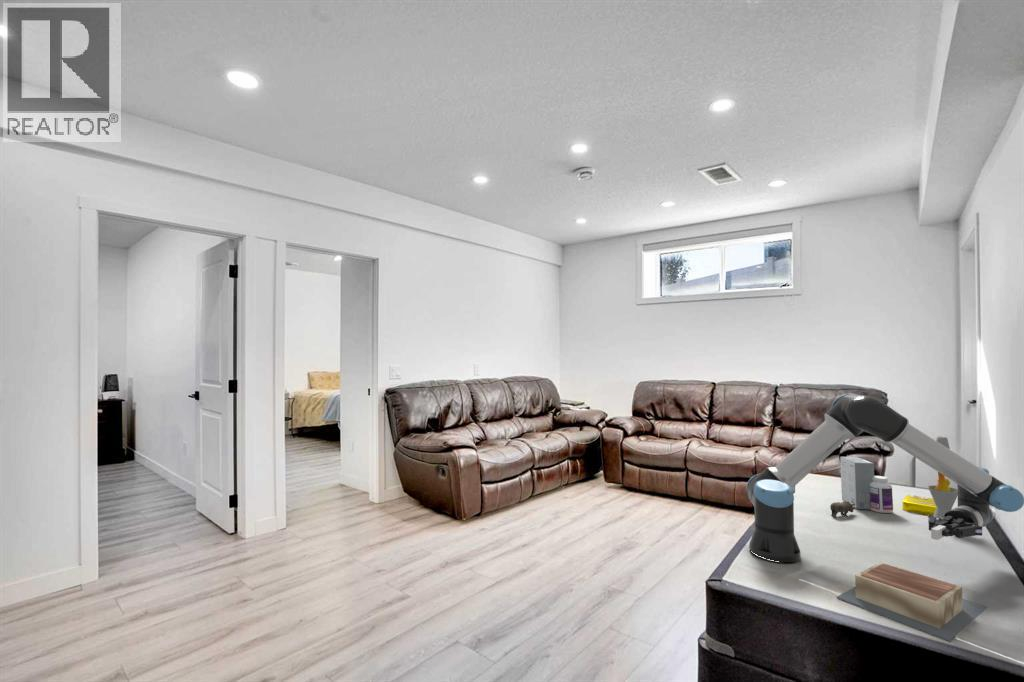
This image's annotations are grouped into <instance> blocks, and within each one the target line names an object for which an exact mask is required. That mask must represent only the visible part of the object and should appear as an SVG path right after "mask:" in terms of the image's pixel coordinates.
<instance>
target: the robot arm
mask: <svg viewBox="0 0 1024 682" xmlns="http://www.w3.org/2000/svg"><path fill="white" fill-rule="evenodd" d="M864 432H865V433H868V434H870V435H872V436H875V437H876V438H878V439H880V440H882V441H883V442H885V443H892V444H894V445H895V446H897V447H899V448H900V449H901V450H903V451H905V452H907V453H908V454H909V455H912V456H913V457H914V458H916V459H918V460H919V461H920V462H922V463H924V464H925V465H927V466H929V467H930V468H931V469H933V470H934V471H936V472H937V473H938V472H939V473H941V474H943V475H944V476H945V478H947V479H948V480H949V481H950V480H951V482H954V483H955V484H957V490H958V496H957V507H954V508H952V509H951V510H950V511H948V512H946V513H945V515H944V516H940V517H939V518H936V516H933V515H931V514H930V515H927V518H928V519H927V520H928V521H927V522H928V530H929V531H930V538H931V539H933V540H936V541H938V540H941V539H942V538H945V537H953V536H955V538H957V539H962V538H963V539H964V538H967V537H973V536H983V527H984V528H985V527H987V526H989V524H990V523H991V522H992V520H993V519H994V513H993V511H992V509H991V508H990V506H991V507H993V508H995V509H996V510H998V511H1003V512H1007V513H1014V512H1017V511H1020V509H1022V508H1023V507H1024V494H1023V493H1022V491H1020V490H1019V489H1017V488H1015V487H1013V486H1012V485H1009V484H1006V483H1004V482H1003V481H1001V480H999V479H998V478H996V477H995V476H992V475H991V474H990V471H989V470H988V469H987V468H985V467H981V466H977V465H976V464H974V463H972V462H971V461H969V460H968V459H966V458H965V457H963V456H961V455H959V454H957V452H955V451H953V450H952V449H948V448H947V447H945V446H943V445H942V444H940V443H939V442H937V441H936V439H935V438H932V437H930V436H929V435H928V434H926V433H925V432H923V431H921V430H920V429H918V428H916V427H915V426H913V425H912V424H910V421H909V419H908V418H907V417H905V416H903V415H902V414H901V413H899V412H897V411H896V410H894V409H893V408H892V407H890V406H889V405H887V404H886V403H885V402H883V400H880V399H879V398H876V397H875V396H871V395H865V394H861V393H857V392H848V393H845V394H841V395H839V396H837V398H835V399H834V400H833V402H832V404H831V408H830V409H829V410H828V411H827V412H826V413H824V421H823V422H822V423H821V424H820V425H819V426H817V427H816V428H815V429H814V430H813V431H812V432H811V433H810V434H809V435H808V436H806V438H804V439H803V440H802V441H801V443H798V445H797V446H796V447H795V448H793V450H792V451H791V452H790V453H788V454H787V455H786V456H785V457H784V458H782V459H781V461H780V462H779V463H777V464H776V465H775V466H774V467H773V466H771V467H770V466H767V467H766V468H765V469H764V470H763V471H762V472H761V473H758V474H754V475H753V476H752V477H751V478H749V480H748V481H747V483H746V495H747V498H748V500H749V501H750V503H751V504H752V506H753V507H754V530H753V533H752V535H751V538H750V541H749V551H750V550H751V551H752V552H753V553H755V554H757V555H758V556H761V557H764V558H766V559H770V560H774V561H779V562H789V563H788V564H791V563H790V562H795V563H798V562H800V561H801V559H802V558H801V554H802V553H801V550H800V547H799V544H798V541H797V537H796V536H795V519H794V518H795V514H794V511H795V510H794V508H795V507H794V505H795V504H794V501H795V496H794V494H795V493H796V486H797V485H798V484H799V483H801V481H802V480H803V479H804V478H805V477H806V476H807V475H809V474H810V473H811V472H812V471H813V470H815V468H817V467H818V466H819V465H820V464H821V463H823V461H824V460H826V458H828V457H829V456H830V455H831V454H832V453H833V452H834V451H835V450H836V449H838V448H839V447H840V445H842V444H843V443H844V442H845V441H847V439H856V438H857V437H858V436H860V434H862V433H864ZM936 522H938V523H936ZM799 560H800V561H799ZM797 561H798V562H797Z"/></svg>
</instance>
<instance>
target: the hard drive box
mask: <svg viewBox="0 0 1024 682" xmlns="http://www.w3.org/2000/svg"><path fill="white" fill-rule="evenodd" d="M874 476H875V463H874V462H871V461H868V460H867V459H863V458H860V457H857V456H840V482H841V485H840V487H841V500H842V501H843V502H844V501H847V502H848V501H849V503H850V504H855V505H854V506H855V508H854V509H858V510H871V503H870V487H869V485H870V483H871V482H873V480H872V477H874ZM854 506H853V507H854Z"/></svg>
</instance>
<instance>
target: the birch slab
mask: <svg viewBox="0 0 1024 682" xmlns="http://www.w3.org/2000/svg"><path fill="white" fill-rule="evenodd" d="M854 577H855V581H854V583H855V586H854V587H856V598H858V599H861V600H864V601H867V602H869V603H872V604H875V605H877V606H880V607H883V608H885V609H888V610H891V611H893V612H896V613H899V614H902V615H904V616H907V617H910V618H912V619H915V620H918V621H920V622H923V623H926V624H928V625H931V626H934V627H937V628H939V629H940V628H941V627H942V626H944V625H945V624H946V623H947V622H949V621H950V620H951V619H952V618H954V617H955V616H956V615H957V614H958V613H960V612H961V611H962V610H963V605H962V598H963V587H962V586H960V585H958V584H957V585H956V584H953V583H951V582H947V581H945V580H941V579H937V578H934V577H931V576H928V575H925V574H921V573H919V572H915V571H911V570H908V569H906V568H905V569H904V568H902V567H898V566H895V565H891V564H889V563H885V562H882V561H880V562H878V563H875V564H874V565H872V566H870V567H869V568H867V569H864V570H862V571H861V572H859V573H857V574H855V575H854Z"/></svg>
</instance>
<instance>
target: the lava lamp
mask: <svg viewBox="0 0 1024 682" xmlns="http://www.w3.org/2000/svg"><path fill="white" fill-rule="evenodd" d="M935 441H937V442H939V443H940V444H942V445H943V446H945V447H947V448H948V449H950V448H951V447H950V445H949V444H950V443H949V439H948V437H946V436H937V437H936V439H935ZM950 450H951V449H950ZM937 475H938V479H937V485H928V486H927V487H928V490H929V492H930V495H931V497H932V498H933V499H934V502H935V504H936V506H937V508H936V510H935V513H934V515H933V516H936V518H939V517H940V516H944V515H945V513H946V512H948V511H950V510H952V509H953V506H954V505H955V502H956V500H957V499H958V488H953V487H950V485H951V482H950V479H949V478H947V477H946V476H944V475H943V474H941V473H939V472H938V471H937ZM936 523H938V522H936Z"/></svg>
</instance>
